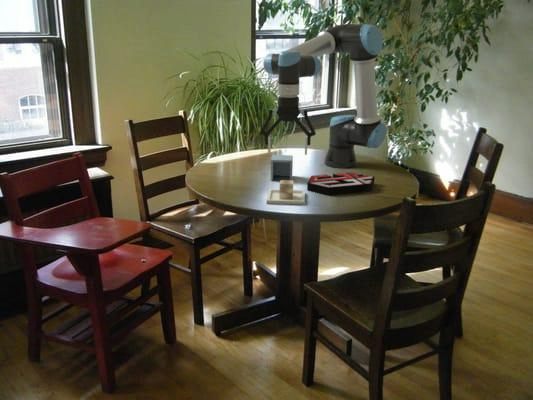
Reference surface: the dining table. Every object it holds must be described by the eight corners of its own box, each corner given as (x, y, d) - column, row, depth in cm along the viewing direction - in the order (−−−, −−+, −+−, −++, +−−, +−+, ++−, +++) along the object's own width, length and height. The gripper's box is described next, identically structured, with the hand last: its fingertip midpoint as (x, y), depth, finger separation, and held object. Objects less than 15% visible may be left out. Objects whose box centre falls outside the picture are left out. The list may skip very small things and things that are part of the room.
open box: (292, 175, 234) (292, 155, 231) (291, 181, 225) (292, 160, 223) (271, 175, 235) (272, 154, 232) (270, 180, 226) (270, 159, 223)
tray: (304, 193, 210) (304, 190, 209) (304, 205, 196) (304, 201, 196) (269, 192, 210) (269, 189, 210) (266, 203, 197) (266, 200, 197)
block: (293, 195, 205) (293, 180, 203) (292, 199, 201) (293, 184, 199) (280, 195, 206) (280, 180, 204) (279, 199, 201) (279, 183, 199)
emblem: (317, 198, 206) (384, 191, 215) (317, 188, 204) (385, 182, 214) (299, 185, 221) (363, 179, 231) (299, 176, 220) (363, 171, 230)
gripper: (252, 96, 188) (253, 155, 195) (323, 97, 187) (321, 156, 194) (254, 93, 195) (255, 150, 202) (323, 94, 194) (320, 151, 201)
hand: (287, 153), depth 198 cm, fingers open, 13 cm apart
